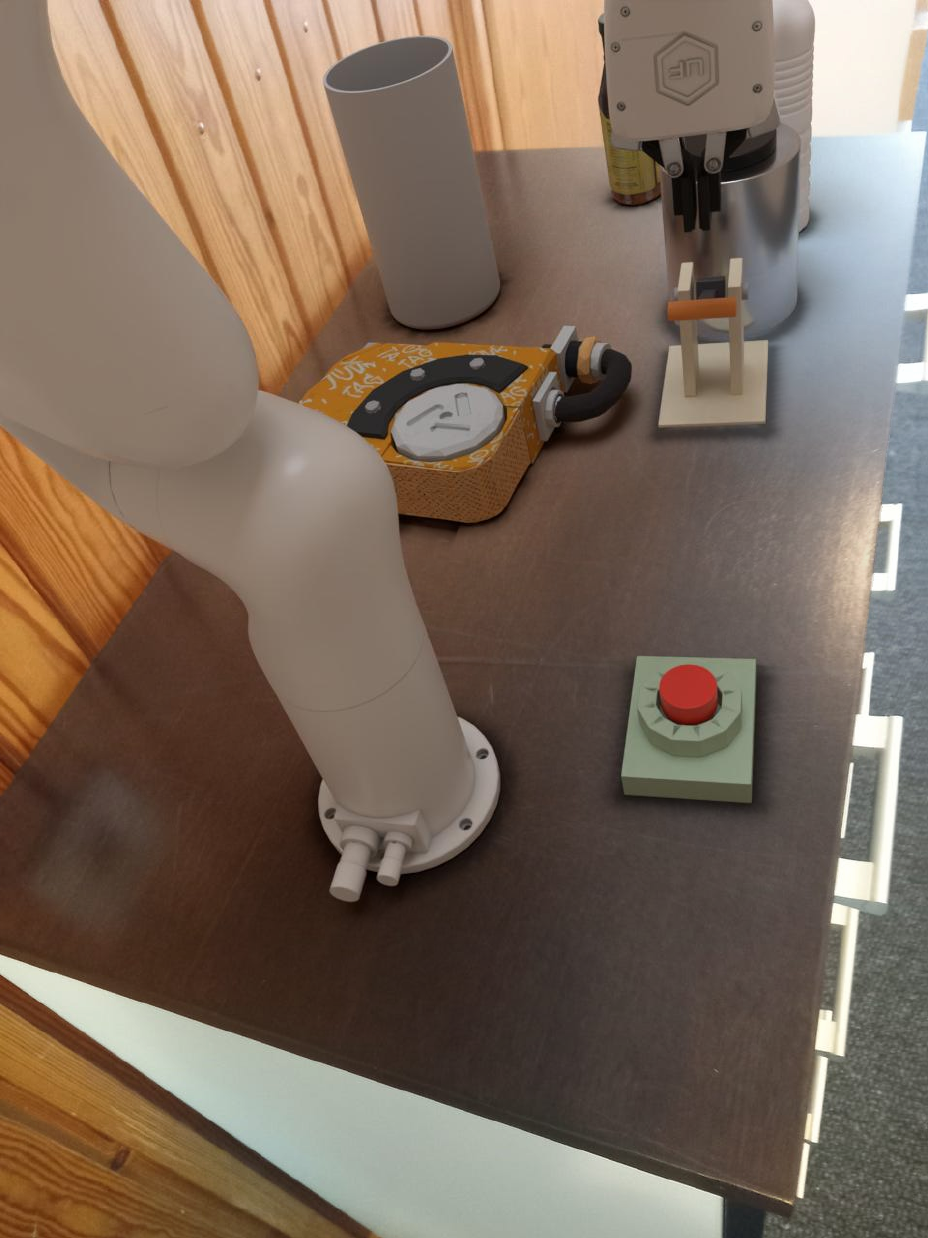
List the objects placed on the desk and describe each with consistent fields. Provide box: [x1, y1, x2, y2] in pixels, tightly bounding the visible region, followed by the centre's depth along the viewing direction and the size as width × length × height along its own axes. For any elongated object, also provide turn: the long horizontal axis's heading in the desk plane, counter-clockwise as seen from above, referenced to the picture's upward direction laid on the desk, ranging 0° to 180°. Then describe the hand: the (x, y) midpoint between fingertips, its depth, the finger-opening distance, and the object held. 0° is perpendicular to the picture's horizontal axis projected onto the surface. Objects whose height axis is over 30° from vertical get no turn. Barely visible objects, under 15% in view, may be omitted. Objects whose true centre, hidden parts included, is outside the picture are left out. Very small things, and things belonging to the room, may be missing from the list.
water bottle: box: [772, 0, 816, 233], centre depth 101 cm, size 9×6×25 cm
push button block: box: [620, 655, 757, 804], centre depth 68 cm, size 10×8×4 cm
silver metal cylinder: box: [659, 123, 801, 340], centre depth 96 cm, size 14×12×17 cm
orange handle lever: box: [666, 276, 737, 322], centre depth 82 cm, size 12×5×2 cm, turn 168°
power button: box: [659, 664, 718, 725], centre depth 66 cm, size 4×4×2 cm
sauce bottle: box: [597, 12, 661, 206], centre depth 114 cm, size 7×6×20 cm
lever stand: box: [657, 258, 769, 429], centre depth 89 cm, size 12×9×12 cm
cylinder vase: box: [322, 35, 501, 330], centre depth 105 cm, size 12×12×25 cm
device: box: [297, 325, 633, 524], centre depth 93 cm, size 23×8×30 cm
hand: (698, 221), depth 72 cm, fingers closed
